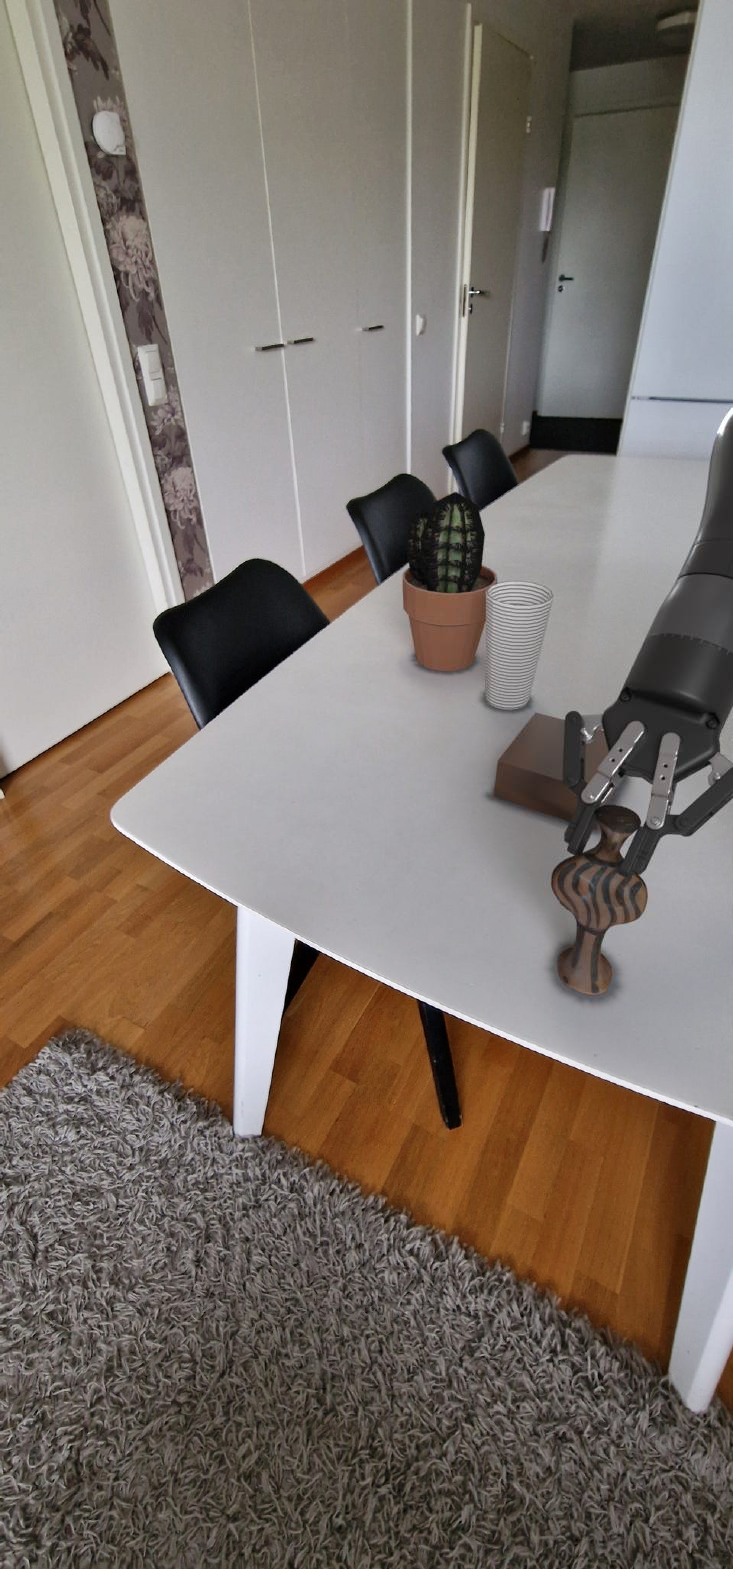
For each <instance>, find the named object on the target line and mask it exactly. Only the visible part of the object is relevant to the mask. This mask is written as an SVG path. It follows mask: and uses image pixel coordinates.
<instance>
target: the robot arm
mask: <svg viewBox="0 0 733 1569" xmlns="http://www.w3.org/2000/svg"><path fill="white" fill-rule="evenodd" d="M708 465H709V466H708V471H707V472H708V474H707V482H706V483H707V484H706V492H705V499H704V504H703V509H702V514H701V518H700V523H699V526H698V530H697V532H696V535H695V537H694V541H693V542H692V544H691V547H690V549H689V552H688V553H687V557H686V558H685V560H684V563H683V565H682V567H681V569H680V571H679V573H678V576H677V578H676V580H675V582H674V583H673V586H672V587H671V590H670V591H669V592H668V594H667V595H666V597H665V599H664V600H663V602H662V603H661V605H660V607H659V609H658V611H657V613H656V615H655V617H654V619H653V621H652V623H651V625H650V628H649V630H648V632H647V633H646V636H645V639H644V641H643V642H642V645H641V647H640V649H639V651H638V654H637V655H636V658H635V660H634V662H633V664H632V666H631V668H630V670H629V673H628V675H627V677H626V679H625V681H624V683H623V686H622V688H621V690H620V693H619V695H618V696H617V699H616V700H615V701H614V702H613V703H612V704H611V705H610V706H608V707H607V708H606V709H605V710H604V712H603V713H601V714H583V715H582V714H581V713H580V712H579V711H577V710H570V711H569V712H567V713H566V714H565V716H564V720H565V731H564V755H563V783H564V784H565V785H566V786H567V787H568V789H569V790H570V791H571V792H573V793H574V794H575V795H576V796H577V797H578V801H579V802H578V806H577V808H576V810H575V812H574V814H573V817H572V819H571V821H569V823H568V825H567V828H566V830H565V832H564V837H563V840H564V842H565V843H566V844H567V848H566V851H567V852H568V853H569V854H571V855H572V856H574V855H575V856H578V857H580V856H581V855H582V853H583V852H585V851H584V850H585V848H586V846H587V844H588V842H589V840H590V838H591V835H592V833H593V831H594V830H595V829H594V827H595V825H596V823H597V821H596V812H597V809H598V808H599V807H600V806H602V805H603V804H604V802H605V801H606V800H607V798H608V797H609V796H610V794H611V793H612V792H613V790H614V789H615V788H617V787H618V786H619V785H620V786H621V784H622V782H623V781H624V780H625V778H626V777H627V776H628V777H631V778H639V779H643V780H644V781H646V782H647V783H649V784H650V785H652V786H651V790H650V799H649V803H648V808H647V813H646V817H645V821H644V823H643V824H642V826H641V825H640V826H639V827H638V829H637V830H636V831H635V834H634V836H633V839H632V840H631V843H630V845H629V847H628V849H627V851H626V853H625V856H624V857H623V858H624V860H623V862H622V864H621V866H620V869H619V872H618V874H619V875H621V876H623V877H625V878H627V879H631V878H632V876H633V874H634V873H636V874H638V875H639V876H641V875H642V874H643V873H645V872H646V870H647V869H648V867H649V864H650V861H651V859H652V857H653V855H654V853H655V851H656V849H657V846H658V845H659V842H660V841H661V839H662V838H663V837H664V836H667V835H674V836H675V835H677V836H681V837H684V838H689V837H692V836H693V835H694V834H695V833H696V832H697V831H698V830H699V829H700V828H702V827H703V826H704V825H705V824H706V823H707V822H708V821H709V820H711V818H713V817H714V816H715V815H716V814H717V813H718V812H719V811H721V810H722V809H723V808H724V807H725V806H726V805H727V804H728V803H729V802H730V801H732V800H733V762H732V761H731V760H730V759H728V757H726V756H725V755H724V754H722V753H721V742H720V738H721V733H722V731H723V729H724V727H725V724H726V722H727V720H728V718H729V716H730V714H731V712H732V709H733V407H732V408H731V409H730V410H729V411H728V412H727V413H726V415H725V417H724V419H723V420H722V422H721V424H720V425H719V428H718V430H717V433H716V435H715V438H714V441H713V444H712V450H711V454H710V459H709V464H708ZM599 730H603V731H604V735H605V739H606V743H607V747H608V751H609V753H608V754H607V756H606V757H605V758H604V760H603V761H602V763H601V764H600V765H599V767H598V769H597V772H596V774H595V775H594V776H593V778H592V779H591V780H590V782H589V783H587V782H586V781H585V758H586V744H590V743H592V742H593V741H594V739H595V735H596V733H597V732H598V731H599ZM708 766H710V767H711V772H710V773H709V774H708V777H707V782H708V786H709V787H708V788H707V789H706V790H705V791H704V792H702V794H701V795H700V796H698V797H697V798H696V799H695V800H694V801H693V802H692V803H691V804H690V805H688V806H687V807H686V808H685V809H684V810H683V811H682V812H681V813H680V814H673V813H671V810H672V805H673V803H674V799H675V796H676V791H677V790H676V789H677V785H678V783H680V782H682V781H684V780H686V779H687V778H689V777H691V776H692V775H694V774H696V773H698V772H700V771H701V770H703V769H705V768H707V767H708ZM618 771H619V772H618ZM620 783H621V784H620ZM620 786H619V787H620Z"/></svg>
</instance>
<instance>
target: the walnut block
mask: <svg viewBox="0 0 733 1569" xmlns="http://www.w3.org/2000/svg"><path fill="white" fill-rule="evenodd" d="M564 731H565V719H562V718H558V717H555V716H551V715H548V714H543V713H539V712H534V713H533V715H531V717H530V719H529V720H528V721H527V723H526V724H525V725H524V726H523V728H522V729H521V730H520V731H519V733H518V734H517V735H516V737H515V738H514V739H513V740H512V741H511V743H510V744H509V746H508V747H507V748H506V749H505V751H504V752H503V753H502V754H501V756H500V757H499V759H498V760H497V762H496V770H495V771H496V772H495V779H494V780H495V781H494V787H493V788H494V789H493V797H494V798H497V799H501V800H504V801H507V802H509V803H513V804H516V805H519V806H522V807H525V808H527V809H531V810H534V811H536V812H540V813H543V814H547V815H550V816H552V817H555V818H558V819H561V820H565V821H567V822H570V821H571V819H572V817H573V814H574V812H575V810H576V808H577V806H578V802H579V801H578V797H577V796H576V795H575V794H574V793H573V792H571V791H570V790H569V789H568V787H567V786H566V785H565V784H564V783H563V755H564ZM608 753H609V751H608V747H607V743H606V739H605V735H604V731H603V729H602V730H599V731H598V732H597V733H596V735H595V739H594V741H593V742H592V743H590V744H586V758H585V781H586V782H587V783H589V782H590V780H591V779H592V778H593V776H594V775H595V774H596V772H597V769H598V767H599V765H600V764H601V763H602V761H603V760H604V758H605V757H606V756H607V754H608ZM618 772H619V771H618ZM621 784H622V782H621V783H620V785H619V786H618V787H617V788H615V789H614V790H613V792H612V793H611V794H610V796H609V797H608V798H607V800H606V801H605V802H604V804H603V805H612V801H613V799H614V798H615V796H616V794H617V792H618V791H619V788H620V787H621ZM603 805H602V806H603ZM599 828H600V825H599V824H598V822H597V823H596V825H595V827H594V829H593V830H595V831H597V830H598V829H599Z"/></svg>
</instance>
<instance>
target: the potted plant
mask: <svg viewBox="0 0 733 1569" xmlns="http://www.w3.org/2000/svg"><path fill="white" fill-rule="evenodd" d="M406 532H407V533H406V538H405V540H406V541H405V551H406V556H407V562H408V566H409V567H408V568H407V569H405V570H404V571H403V572H402V577H401V578H402V580H401V581H402V604H403V605H402V608H403V611H404V612H405V613H406V615H407V616H408V621H409V625H410V626H409V627H410V631H411V636H412V637H411V638H412V642H413V648H414V652H415V659H416V660H417V663H418V664H420V665H421V666H422V667H424V668H426V669H428V670H431V671H437V672H457V671H461V670H463V669H466V668H468V667H469V666H471V665H472V664H473V662H474V661H475V657H476V654H477V651H478V649H479V648H478V647H479V645H480V641H481V638H482V635H483V631H484V628H485V626H486V590H487V589H488V588H489V587H490V586H491V585H494V584H497V583H498V574H497V573H496V572H495V571H493V569H492V568H490V567H489V566H485V565H483V557H484V547H485V539H486V533H485V529H484V525H483V521H482V516H481V514H480V509H479V507H478V504H476V503H475V502H473V501H472V500H470V499H468V498H467V497H466V496H464V495H462V494H460V493H459V492H458V491H454V492H452V493H450V494H448V495H446V496H444V497H443V498H440V499H438V500H436V501H435V502H434V504H433V505H431V508H430V510H429V511H426V510H424V509H422V510H421V511H420V512H419V513H417V514H416V515H415V516H414V517H413V518H411V519H410V520H409V523H408V527H407V531H406Z"/></svg>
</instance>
